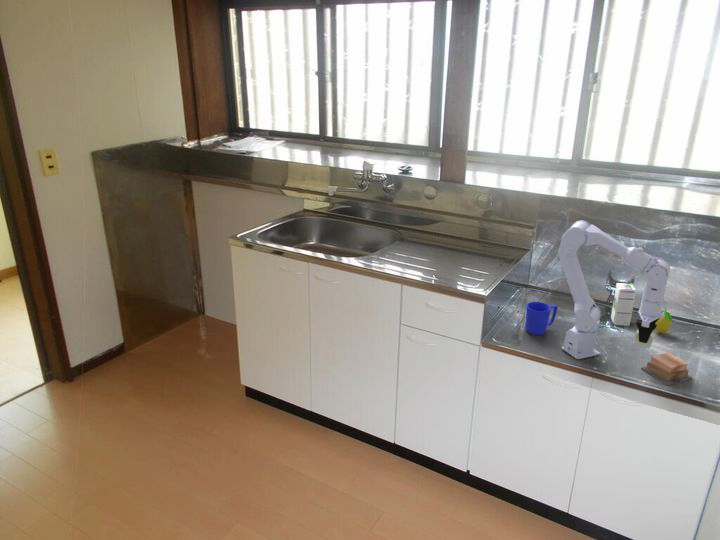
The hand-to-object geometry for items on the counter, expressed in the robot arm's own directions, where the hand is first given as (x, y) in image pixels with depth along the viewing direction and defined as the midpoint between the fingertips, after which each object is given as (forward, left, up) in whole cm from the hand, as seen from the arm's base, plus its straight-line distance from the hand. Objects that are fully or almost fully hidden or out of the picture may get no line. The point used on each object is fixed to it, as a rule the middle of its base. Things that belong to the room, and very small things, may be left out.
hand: (644, 338), depth 173 cm
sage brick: (0, 0, -1) cm, 1 cm away
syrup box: (+18, +26, -10) cm, 33 cm away
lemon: (+25, +14, -10) cm, 31 cm away
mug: (-14, +31, -10) cm, 35 cm away
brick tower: (+5, -6, -10) cm, 13 cm away
